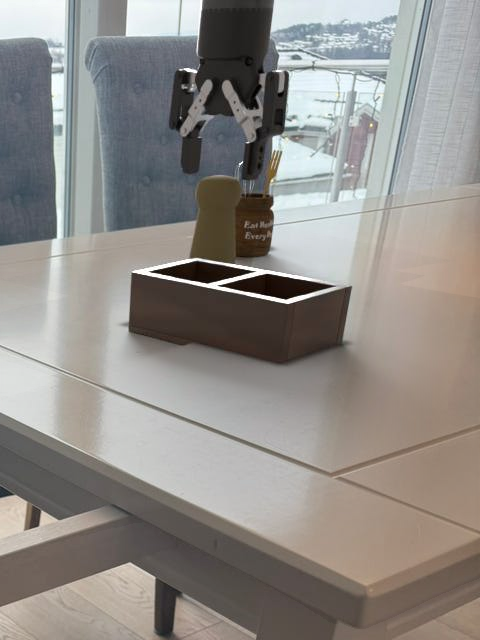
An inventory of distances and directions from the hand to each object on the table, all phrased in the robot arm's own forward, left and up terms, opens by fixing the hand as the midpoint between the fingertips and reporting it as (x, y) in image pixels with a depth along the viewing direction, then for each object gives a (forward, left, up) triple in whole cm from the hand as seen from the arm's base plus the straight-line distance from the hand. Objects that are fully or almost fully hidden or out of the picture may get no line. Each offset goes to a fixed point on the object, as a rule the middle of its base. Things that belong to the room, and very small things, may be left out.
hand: (219, 176), depth 106 cm
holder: (+20, +19, -11) cm, 30 cm away
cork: (0, 0, -11) cm, 11 cm away
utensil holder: (-15, -6, -11) cm, 20 cm away
